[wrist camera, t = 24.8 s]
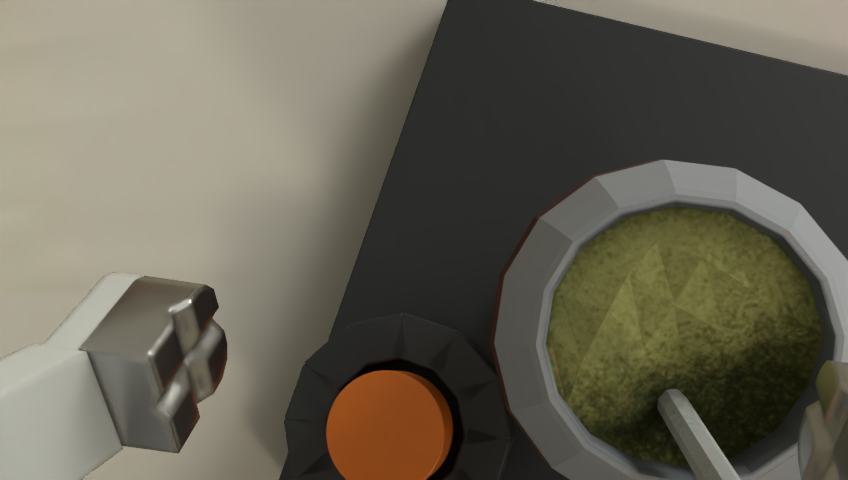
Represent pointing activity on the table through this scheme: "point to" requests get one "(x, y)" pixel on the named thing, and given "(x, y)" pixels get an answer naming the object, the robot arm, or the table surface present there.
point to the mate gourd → (669, 326)
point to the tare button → (389, 427)
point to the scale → (541, 193)
